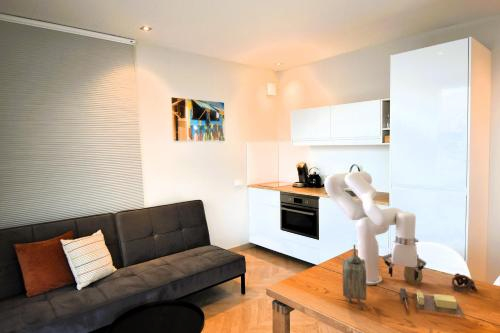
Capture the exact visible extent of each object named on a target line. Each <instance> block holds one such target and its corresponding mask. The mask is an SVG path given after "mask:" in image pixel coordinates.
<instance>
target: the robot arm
mask: <svg viewBox="0 0 500 333" xmlns="http://www.w3.org/2000/svg"><path fill="white" fill-rule="evenodd" d="M372 183H373V177H372V175H371V174H370V173H369V172H367V171H366V170H365V171H364V170H361V171H352V172H351V171H350V172H342V173H341V172H340V173H333V174H330V175H328V176H327V177H326V178H325V179H324V190H325V192H326V194H327V196H328V197H329V198H330V200H332V201H333V202H334V203H335V204H336V205H337V206H338V208H340V210H341V211H342V212H343V213H344V214H345V216H346V217H348V219H349V220H352V221H357V222H356V224H355V232H356V235H357V237H356V238H357V256H358V257H359V258H360V259H362V260H365V265H366V286H367V285H368V286H377V285H378V283H381V282H382V281H383V278H382V276H380V268H379V267H380V261H379V260H380V257H379V256H380V255H379V254H380V253H379V250H380V249H379V242H378V240H377V237H376V236H379V235H383V234H385V233H387V232H388V231H389V229H390V226H395V236H394V237H395V240H393V241H392V246H391V252H390V253H389V254H385V255H383V256H382V260H383V262H384V264H385V265H386V266H387V267H388V274H389V276H390V278H392V277H393V272H394V270H393V267H395V266H401V267H405V266H407V267H414V269H415V270H414V280H415V281H417V278H418V273H419V271H420V270H422V271H423V269H424V268H425V267H426V265H427V262H426V261H425V260H424V259H422V258H420V257H419V258H418V257H417V254H418V249H417V244H416V243H419V238H416V221H417V219H416V218H417V217H416V214H414V213H413V212H409V211H404V210H402V209H399V208H397V207H390V208H384V209H381V208H380V207H379V206H378V205H377V204H376V203H375V201H374V198H375V197H376V195H377V190H376V188H375V187H374V186H373V185H372ZM343 189H350V190H351V191H352V192H353V194H355V195H356V196H357V197H358V198H359V200H356V199H355V198H353V196H352V195H351V194H350V193H349V192H347V191H345V190H343ZM388 259H390V260H391V261H390V262H389V260H388ZM417 261H419V262H420V263H421V265H420V266H417Z"/></svg>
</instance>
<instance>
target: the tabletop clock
mask: <svg viewBox="0 0 500 333" xmlns="http://www.w3.org/2000/svg"><path fill="white" fill-rule="evenodd" d="M342 295H343V296H344V297H345V298H347V302H349V303H352V300H357V302H358V304H359V309H360V310H364V308H365V307H364V305H363V304H362V302H361V301H367V284H366V265H365V260H362V259H360V258H359V257H358V255H357V252H356V244H353V252H352V255H350V256H349V257H348V258H347V257H346V258H345V259H343V260H342Z"/></svg>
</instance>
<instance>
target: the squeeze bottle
mask: <svg viewBox="0 0 500 333" xmlns="http://www.w3.org/2000/svg"><path fill="white" fill-rule="evenodd" d="M417 257H418V258H420V256H419V254H418V253H417ZM420 265H421V263H420V262H419V261H417V266H420ZM414 270H415V269H414V267H407V266H404V270H403V277H404V280H405V283H408V284H409V285H421V283H422V280H423V278H424V277H423V269H422V270H420V271H419V273H418V278H417V281H415V280H414Z"/></svg>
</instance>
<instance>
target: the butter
mask: <svg viewBox="0 0 500 333" xmlns="http://www.w3.org/2000/svg"><path fill="white" fill-rule="evenodd" d="M433 296H434V302H435V304H436V306H437V307H444V308H451V309H457V304H458V302H457V300H456V298H455V296H454V295H447V294H439V293H433Z"/></svg>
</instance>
